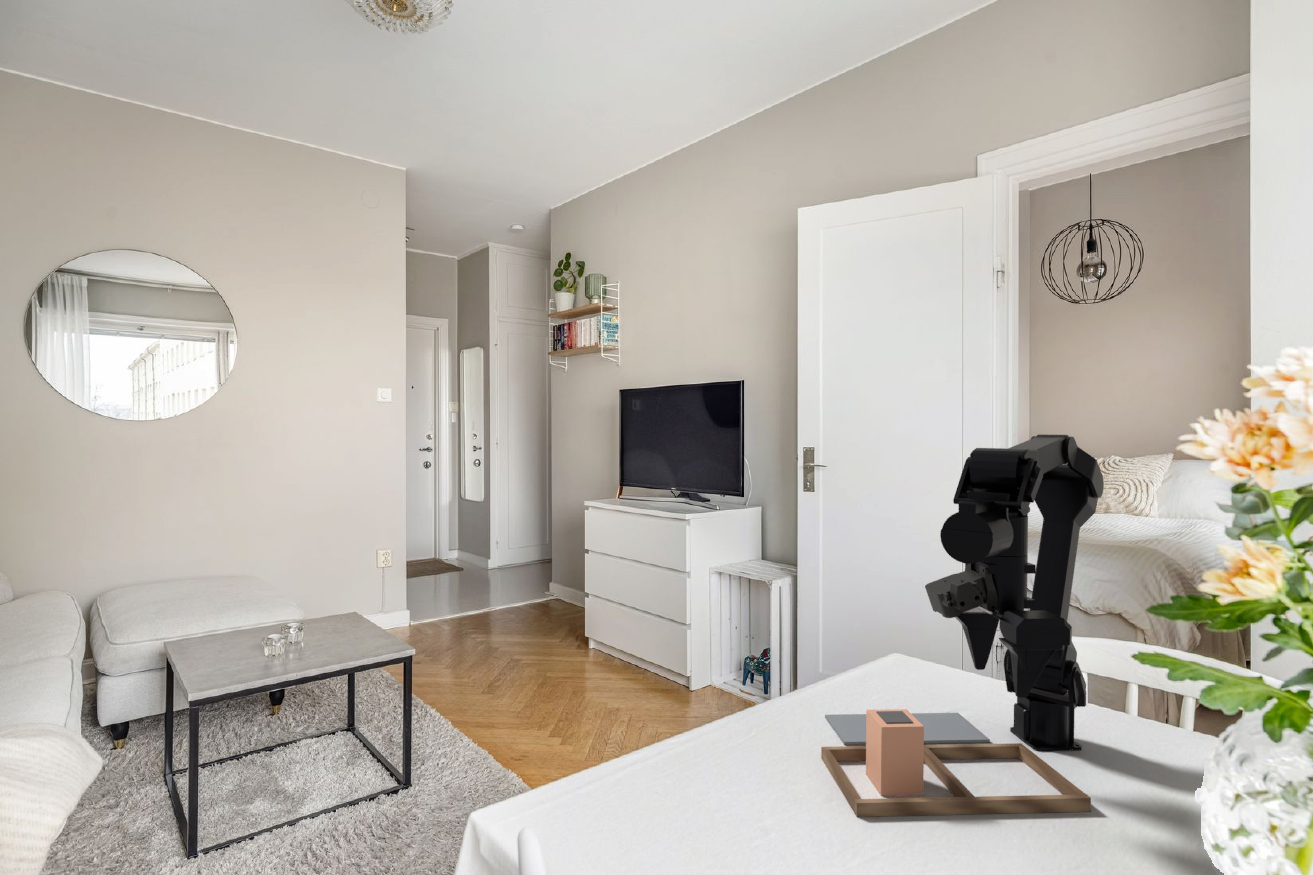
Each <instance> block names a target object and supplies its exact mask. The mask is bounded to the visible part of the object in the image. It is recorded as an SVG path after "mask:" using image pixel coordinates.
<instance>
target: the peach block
mask: <svg viewBox="0 0 1313 875" xmlns="http://www.w3.org/2000/svg"><path fill="white" fill-rule="evenodd" d="M865 714H866V745H865V746H866V761H865V776H866V777H867V778H868V780H869V781H870V783H871V784H872V785H873V787H874V788H875V790H876V791H877V793H878V794H879V795H880V797H885V796H886V797H888V796H890V797H891V796H893V797H894V796H896V797H897V796H923V795H924V771H925V770H924V768H925V766H924V764H925V763H924V745H925V744H924V726H923V725H922V724H921V723H920V722H919V721H918V720H917V719H916V718H915V717H914V716H913V715H912V714H911V712H910V711H909V710H908V709H906V708H902V709H901V708H900V709H899V708H897V709H896V708H895V709H892V708H891V709H866V711H865Z"/></svg>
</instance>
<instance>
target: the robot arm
mask: <svg viewBox="0 0 1313 875" xmlns="http://www.w3.org/2000/svg"><path fill="white" fill-rule="evenodd" d="M1103 493H1104V476H1103V473H1102V470H1101V468H1100V465H1099V462H1098V460H1097V459H1096V458H1095V457H1093V456H1092V455H1090V454H1089V453H1088V452H1086V451H1084V450H1083V449H1082V448H1080V447H1079V446H1078V444H1077V441H1076V439H1075V438H1074V436H1069V435H1068V434H1040V433H1039V434H1036V435H1035V436H1034V435H1033V436H1031V437H1030V439H1028V440H1026V441H1023V442H1020V443H1018V444H1016V445H1013V446H1011V447H1008V448H1002V447H1000V448H995V447H976V448H974V449H973V450H972V451H971V452H970V454H969V456H968V457H967V458H966V459H965V462H964V465H963V468H962V471H961V474H960V478H959V481H958V484H957V487H956V490H955V494H954V497H953V500H952V501H953V504H954V505H958V512H955V513H953V514H950V516H949V517H947V518H946V520H945V521H944V523H943V525H942V527H941V529H940V535H939V536H940V542H941V545H942V547H943V549H944V550H945V552H946V554H948V555H949V557H951V558H952V559H953V560H955V561H957V562H959V563H962V564H965V565H964V567H965V568H964V571H961V572H957V573H953V574H950V575H949V574H948V575H947V576H944V577H941V578H940V579H936V580H934V581H931V582H929V583H927V584H925V586H924V588H925V590H926V594H927V596H928V599H929V603H930V606H931V609H932V611H933V612H935V613H936V612H937V613H938V614H941V616H942V617H944V618H946V619H953V618H955V619H956V620H957V621H958V622H959V623H960V624H961V626H962V630H963V633H964V635H965V638H966V642H967V646H968V648H969V652H970V656H971V660H972V663H973V666H974V669H976V670H977V671H982V670H985V669H986V666H987V663H988V661H989V659H990V655H991V652H992V649H993V644H994V640H995V636H996V633H997V630H998V627H999V631H1000V633H1001V635H1002V637H998V640H999V641H1000V642H1001V644H1002V645H1003V646H1005V647H1006V648H1007V649H1006V650H1005V653H1004V657H1003V670H1004V671H1003V672H1004V676H1005V678H1004V679H1005V684H1006V690H1007V693H1014V694H1015V697H1016V703H1015V702H1014V705H1013V726H1011V727H1010V728H1009V732H1010V733H1011V734H1013V735H1015V736H1016V737H1017V738H1018V739H1019V740H1020V741H1022V742H1023V743H1025V744H1026V745H1027V746H1029V747H1030V748H1031V749H1032V750H1034V751H1037V752H1061V751H1064V752H1065V751H1066V752H1067V751H1068V752H1069V751H1082V750H1083V746H1082V745H1081V744H1079V743H1078V742H1077V741H1075V709H1076V708H1078V707H1080V708H1081V707H1082V708H1083V707H1084V708H1085V707H1087V682H1086V681H1085V677H1084V676H1083V673H1082V670H1081V667H1080V664H1079V663H1078V661H1077V659H1078V658H1077V657H1078V656H1077V655H1078V651H1077V649H1076V646H1075V645H1074V643H1073V641H1072V640H1073V627H1072V625H1071V624H1070V623H1069V622H1068V618H1069V612H1070V605H1071V604H1070V603H1071V597H1072V591H1073V590H1072V589H1073V588H1072V587H1073V584H1074V583H1073V582H1074V574H1075V567H1076V559H1077V552H1078V545H1079V539H1080V538H1079V537H1080V530H1081V527H1083V526H1084V525H1085V524H1086V522H1087V521H1089V519H1091V518H1092V516H1093V515H1094V514H1095V513H1096V511H1097V506H1098V502H1099V498H1102V496H1103ZM1031 503H1033V504H1034V503H1035V504H1036V506H1037V508H1038V510H1039V512H1040V514H1041V516H1042V518H1043V519H1042V527H1041V533H1040V540H1039V546H1038V547H1039V548H1038V551H1037V552H1038V553H1037V557H1036V558H1037V560H1036V564H1034V563H1030V562H1028V558H1029V557H1028V553H1029V552H1028V549H1029V548H1028V546H1029V544H1028V543H1029V535H1028V534H1029V513H1030V512H1031V506H1030V504H1031ZM1030 574H1032V575H1033V574H1034V579H1033V585H1032V591H1031V592H1032V593H1031V597H1029V596H1028V575H1030ZM1025 609H1029V610H1025Z"/></svg>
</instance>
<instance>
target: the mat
mask: <svg viewBox="0 0 1313 875" xmlns="http://www.w3.org/2000/svg"><path fill="white" fill-rule="evenodd" d="M910 713H911V712H910ZM911 714H912V715H913V716H914V717H915V718H916V719H917V720H918V721H919V722H920V723H921V724H922V725H923V726H924V745H928V744H986V743H991V740H990V738H989V737H988V736H986V735H985V734H984V733H983V732H982V731H981V730H979V729H978V728H976V726H974V725H973V724H972V723H971V722H970V721H968V720H967V718H965V717H964V716H963V715H962V714H960V713H959V712H924V713H923V712H919V713H917V712H916V713H914V712H913V713H911ZM824 718H825V720H826V721H827V723H828V724H829V726H830V727H831V728H832V730H833V731H834V733H835V734H836V735H837V737H838V738H839V740H840V741H841V742H842V744H843V746H859V745H860V746H866V713H859V714H858V713H855V714H854V713H853V714H852V713H850V714H847V713H846V714H843V713H842V714H841V713H840V714H824Z"/></svg>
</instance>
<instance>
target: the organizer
mask: <svg viewBox="0 0 1313 875" xmlns="http://www.w3.org/2000/svg"><path fill="white" fill-rule="evenodd" d="M820 750H821V752H820V754H821V755H820V756H821V758H820V759H821V760H822V762H823V764H824V765H825V767H826V768H827V770H828V772H829V774H830V775H831V777H832V779H833V780H834V782H835V783H836V785H837V786H838V788H839V790H840V792H841V793H842V795H843V797H844V798H845V800H846V802H847V803H848V805H849V806H850V808H851V810H852V811H853V813H854V815H855V816H856V818H857V817H858V818H859V817H862V818H863V817H901V816H903V817H904V816H905V817H907V816H945V815H987V814H989V815H991V814H992V815H993V814H994V815H995V814H997V815H999V814H1032V813H1033V814H1034V813H1035V814H1036V813H1037V814H1039V813H1043V814H1044V813H1078V812H1080V813H1081V812H1082V813H1083V812H1084V813H1085V812H1092V811H1091V808H1092V798H1091V797H1090V796H1089V795H1088V794H1087V793H1085V792H1084V791H1083V790H1081V789H1080V788H1079V787H1077V786H1076V785H1075V784H1074V783H1073V782H1072V781H1071V780H1069V779H1067V778H1066V777H1065V776H1063V775H1062V774H1061V772H1059V771H1057V770H1056V769H1054V768H1053V767H1052V766H1051V765H1049V764H1048V763H1047V762H1046V761H1044V760H1043V759H1042V758H1041V757H1039V756H1038V755H1037V754H1035V753H1034V752H1033V751H1032V750H1030V749H1029V748H1028V747H1027V746H1025V744H1023V743H1020V742H1019V743H952V744H924V764H925V765H926V766H927V767H928V768H929V769H930V771H931V772H932V773H933V774H934V775H935V776H936V778H938V779H939V780H940V782H941V783H943V785H944V786H945V787H946V788H947V789H948V791H950V792H951V793H952V795H953V796H940V797H937V796H936V797H901V798H900V797H898V798H897V797H896V798H895V797H894V798H889V797H888V798H887V797H886V798H862V797H861V795H860V794H859V793H858V791H857V790H856V788H855V787H854V785H853V783H852V782H851V780H850V778H848V776H847V774H846V772H845V771H844V769H843V768H842V767H841V765H840V764H839V762H849V761H850V762H851V761H852V762H853V761H854V762H855V761H856V762H859V761H861V762H863V761H865V762H866V745H860V746H859V745H843V746H821V748H820ZM1016 758H1018V759H1020V760H1021V762H1023V763H1024V764H1026V765H1027V766H1028V767H1029V768H1030V769H1032V771H1034V772H1035V773H1036V774H1038V775H1039V776H1040V777H1041V778H1042V779H1044V780H1045V781H1046V782H1047V783H1048V784H1049V785H1051V786H1052V787H1053V788H1055V790H1057V791H1058V792H1059V793H1061V794H1044V795H1043V794H1042V795H1041V794H1040V795H1038V794H1037V795H1034V794H1033V795H993V796H990V795H988V796H987V795H986V796H984V795H983V796H975V795H974V794H973V793H972V792H971V791H970V790H969V788H967V787H966V786H965V785H964V784H963V783H962V782H961V781H960V780H959V778H958V777H956V776H955V775H954V773H952V771H951V770H950V769H949V768H948V767H947V766H946V765H945V764H944V763H943V762H942V761H941V760H958V759H960V760H962V759H963V760H964V759H965V760H971V759H972V760H973V759H976V760H977V759H1016Z"/></svg>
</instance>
